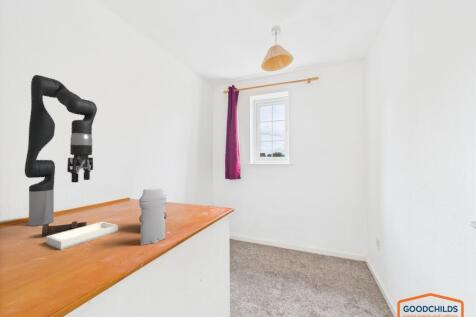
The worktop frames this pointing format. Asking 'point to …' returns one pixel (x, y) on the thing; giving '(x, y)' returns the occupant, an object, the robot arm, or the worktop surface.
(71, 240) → the parts tray
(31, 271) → the worktop surface
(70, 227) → the bolt
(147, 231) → the tall pale column
